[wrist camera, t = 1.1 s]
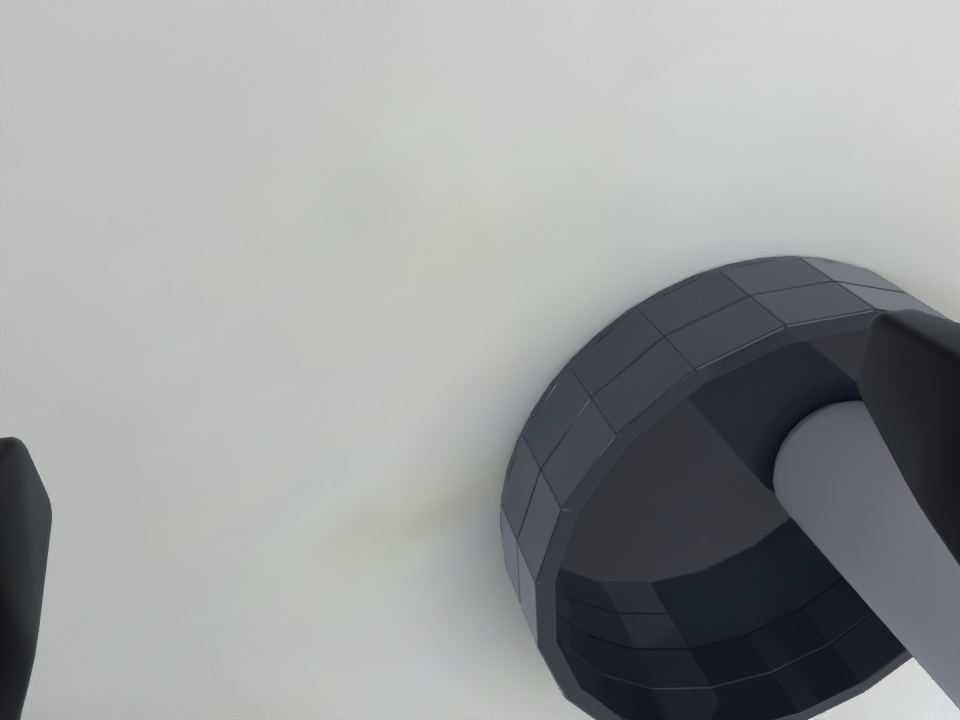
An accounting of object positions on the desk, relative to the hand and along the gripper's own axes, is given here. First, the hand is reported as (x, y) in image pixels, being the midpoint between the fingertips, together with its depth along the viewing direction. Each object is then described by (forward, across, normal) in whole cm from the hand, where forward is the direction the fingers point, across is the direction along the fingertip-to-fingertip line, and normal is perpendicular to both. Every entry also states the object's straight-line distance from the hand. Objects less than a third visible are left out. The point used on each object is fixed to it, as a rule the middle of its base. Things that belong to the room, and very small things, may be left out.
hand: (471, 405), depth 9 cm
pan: (+13, -10, +15) cm, 22 cm away
